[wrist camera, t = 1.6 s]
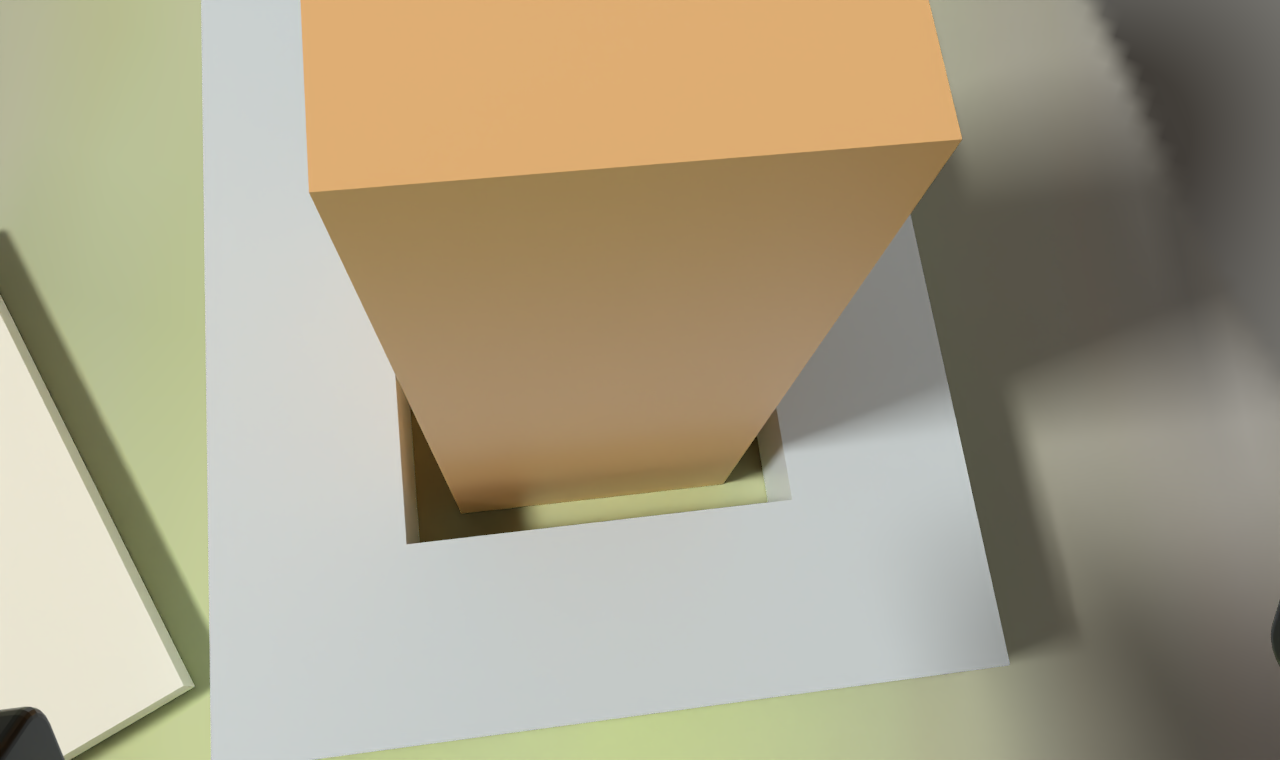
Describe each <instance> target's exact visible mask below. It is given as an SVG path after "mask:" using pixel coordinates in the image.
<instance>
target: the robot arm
mask: <svg viewBox="0 0 1280 760" xmlns="http://www.w3.org/2000/svg"><path fill="white" fill-rule="evenodd" d="M1271 642H1272V648H1273V651H1274V654H1275V657H1276V660H1277V662H1278V664H1279V666H1280V601H1279V604H1278V608H1277V611H1276V614H1275V617H1274V621H1273V624H1272V629H1271ZM0 760H65V759H64V756H63V754H62V752H61V749H60V747H59V744H58V742H57V739H56V737H55V734H54V732H53V729H52V727H51V724H50V722H49V721H48V719H47V717H46V715H45V714H44V713H43V712H42V711H41V710H39V709H37V708H34V707H18V708H10V709H2V710H0Z"/></svg>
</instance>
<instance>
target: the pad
mask: <svg viewBox="0 0 1280 760" xmlns="http://www.w3.org/2000/svg"><path fill="white" fill-rule="evenodd" d="M193 687H195V686H194V684H193V681H192V679H191V677H190V675H189V673H188V671H187V669H186V667H185V665H184V663H183V661H182V659H181V657H180V655H179V653H178V651H177V649H176V647H175V645H174V643H173V641H172V639H171V637H170V635H169V633H168V631H167V629H166V627H165V625H164V623H163V621H162V619H161V617H160V615H159V613H158V611H157V609H156V607H155V605H154V603H153V601H152V599H151V597H150V595H149V593H148V591H147V589H146V587H145V585H144V583H143V581H142V579H141V577H140V575H139V573H138V571H137V569H136V567H135V565H134V563H133V561H132V559H131V557H130V555H129V553H128V551H127V549H126V547H125V545H124V543H123V541H122V539H121V537H120V535H119V533H118V531H117V528H116V526H115V524H114V522H113V520H112V518H111V516H110V514H109V512H108V510H107V508H106V506H105V504H104V502H103V500H102V498H101V496H100V494H99V492H98V490H97V488H96V486H95V484H94V482H93V480H92V478H91V476H90V474H89V472H88V470H87V468H86V466H85V464H84V462H83V460H82V458H81V456H80V454H79V452H78V450H77V448H76V446H75V444H74V442H73V440H72V438H71V436H70V434H69V432H68V430H67V428H66V426H65V424H64V422H63V420H62V418H61V416H60V414H59V412H58V410H57V408H56V406H55V404H54V402H53V400H52V398H51V396H50V394H49V392H48V390H47V388H46V386H45V384H44V382H43V380H42V378H41V375H40V373H39V371H38V369H37V367H36V365H35V363H34V361H33V359H32V357H31V355H30V353H29V351H28V349H27V347H26V345H25V343H24V341H23V339H22V337H21V335H20V333H19V331H18V329H17V327H16V325H15V323H14V321H13V319H12V317H11V315H10V313H9V311H8V309H7V307H6V305H5V303H4V301H3V299H2V297H1V295H0V710H2V709H10V708H18V707H34V708H37V709H39V710H41V711H42V712H43V713H44V714H45V715H46V717H47V719H48V721H49V722H50V724H51V727H52V729H53V732H54V734H55V737H56V739H57V742H58V744H59V747H60V749H61V752H62V754H63V756H64V759H65V760H71V759H72V758H74V757H76V756H78V755H79V754H81V753H83V752H84V751H86V750H88V749H89V748H91V747H93V746H95V745H96V744H98V743H100V742H101V741H103V740H105V739H107V738H108V737H110V736H112V735H113V734H115V733H117V732H118V731H120V730H122V729H124V728H125V727H127V726H129V725H130V724H132V723H134V722H136V721H137V720H139V719H141V718H142V717H144V716H146V715H147V714H149V713H151V712H153V711H154V710H156V709H158V708H159V707H161V706H163V705H164V704H166V703H168V702H170V701H171V700H173V699H175V698H176V697H178V696H180V695H182V694H183V693H185V692H187V691H188V690H190V689H192V688H193Z"/></svg>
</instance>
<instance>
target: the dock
mask: <svg viewBox="0 0 1280 760" xmlns="http://www.w3.org/2000/svg"><path fill="white" fill-rule="evenodd" d="M201 19H202V96H203V173H204V250H205V326H206V403H207V480H208V557H209V634H210V710H211V760H314V759H321V758H328V757H336V756H343V755H350V754H358V753H365V752H373V751H380V750H387V749H395V748H402V747H410V746H417V745H424V744H432V743H439V742H446V741H454V740H461V739H469V738H476V737H483V736H491V735H498V734H506V733H513V732H520V731H528V730H535V729H542V728H550V727H557V726H565V725H572V724H579V723H587V722H594V721H602V720H609V719H616V718H624V717H631V716H638V715H646V714H653V713H661V712H668V711H675V710H683V709H690V708H698V707H705V706H712V705H720V704H727V703H734V702H742V701H749V700H757V699H764V698H771V697H779V696H786V695H794V694H801V693H808V692H816V691H823V690H830V689H838V688H845V687H853V686H860V685H867V684H875V683H882V682H890V681H897V680H904V679H912V678H919V677H926V676H934V675H941V674H949V673H956V672H963V671H971V670H978V669H986V668H993V667H1000V666H1008V665H1010V662H1009V657H1008V653H1007V648H1006V644H1005V639H1004V635H1003V630H1002V626H1001V621H1000V617H999V612H998V608H997V603H996V599H995V594H994V589H993V585H992V580H991V576H990V571H989V567H988V562H987V558H986V553H985V549H984V544H983V540H982V535H981V531H980V526H979V522H978V517H977V513H976V508H975V504H974V499H973V495H972V490H971V485H970V481H969V476H968V472H967V467H966V463H965V458H964V454H963V449H962V445H961V440H960V436H959V431H958V427H957V422H956V418H955V413H954V409H953V404H952V400H951V395H950V391H949V386H948V381H947V377H946V372H945V368H944V363H943V359H942V354H941V350H940V345H939V341H938V336H937V332H936V327H935V323H934V318H933V314H932V309H931V305H930V300H929V296H928V291H927V287H926V282H925V277H924V273H923V268H922V264H921V259H920V255H919V250H918V246H917V241H916V237H915V232H914V228H913V223H912V219H911V214H910V215H909V217H908V218H907V220H906V221H905V222H904V224H903V225H902V227H901V228H900V230H899V231H898V233H897V234H896V235H895V237H894V238H893V240H892V241H891V243H890V244H889V246H888V247H887V248H886V250H885V251H884V253H883V254H882V256H881V257H880V259H879V260H878V261H877V263H876V264H875V266H874V267H873V269H872V270H871V272H870V273H869V274H868V276H867V277H866V279H865V280H864V282H863V283H862V284H861V286H860V287H859V289H858V290H857V292H856V293H855V295H854V296H853V297H852V299H851V300H850V302H849V303H848V305H847V306H846V308H845V309H844V310H843V312H842V313H841V315H840V316H839V318H838V319H837V321H836V322H835V323H834V325H833V326H832V328H831V329H830V331H829V332H828V333H827V335H826V336H825V338H824V339H823V341H822V342H821V344H820V345H819V346H818V348H817V349H816V351H815V352H814V354H813V355H812V357H811V358H810V359H809V361H808V362H807V364H806V365H805V367H804V368H803V370H802V371H801V372H800V374H799V375H798V377H797V378H796V380H795V381H794V383H793V384H792V385H791V387H790V388H789V390H788V391H787V393H786V394H785V395H784V397H783V398H782V400H781V401H780V403H779V404H778V406H777V407H776V408H775V410H774V411H773V413H772V414H771V416H770V417H769V419H768V420H767V421H766V423H765V424H764V426H763V427H762V429H761V430H760V432H759V433H758V434H757V440H758V446H759V452H760V458H761V464H762V470H763V476H764V482H765V488H766V494H767V500H768V502H767V503H759V504H750V505H742V506H733V507H724V508H716V509H707V510H698V511H690V512H681V513H673V514H664V515H655V516H647V517H638V518H630V519H621V520H612V521H604V522H595V523H586V524H578V525H569V526H561V527H552V528H543V529H535V530H526V531H517V532H509V533H500V534H492V535H483V536H474V537H466V538H457V539H448V540H440V541H431V542H423V543H420V538H419V524H418V509H417V495H416V481H415V466H414V452H413V438H412V424H411V409H410V404H409V402H408V400H407V398H406V396H405V394H404V392H403V390H402V387H401V385H400V383H399V381H398V379H397V377H396V375H395V373H394V371H393V369H392V366H391V364H390V362H389V360H388V358H387V356H386V354H385V352H384V350H383V347H382V345H381V343H380V341H379V339H378V337H377V335H376V333H375V331H374V328H373V326H372V324H371V322H370V320H369V318H368V316H367V314H366V312H365V310H364V307H363V305H362V303H361V301H360V299H359V297H358V295H357V293H356V291H355V288H354V286H353V284H352V282H351V280H350V278H349V276H348V274H347V272H346V270H345V267H344V265H343V263H342V261H341V259H340V257H339V255H338V253H337V251H336V248H335V246H334V244H333V242H332V240H331V238H330V236H329V234H328V232H327V229H326V227H325V225H324V223H323V221H322V219H321V217H320V215H319V213H318V211H317V208H316V206H315V204H314V202H313V200H312V198H311V196H310V194H309V183H308V161H307V138H306V116H305V93H304V70H303V48H302V25H301V3H300V0H201Z"/></svg>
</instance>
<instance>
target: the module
mask: <svg viewBox="0 0 1280 760" xmlns="http://www.w3.org/2000/svg"><path fill="white" fill-rule="evenodd" d="M300 3H301V25H302V48H303V70H304V93H305V116H306V138H307V161H308V183H309V194H310V196H311V198H312V200H313V202H314V204H315V206H316V208H317V211H318V213H319V215H320V217H321V219H322V221H323V223H324V225H325V227H326V229H327V232H328V234H329V236H330V238H331V240H332V242H333V244H334V246H335V248H336V251H337V253H338V255H339V257H340V259H341V261H342V263H343V265H344V267H345V270H346V272H347V274H348V276H349V278H350V280H351V282H352V284H353V286H354V288H355V291H356V293H357V295H358V297H359V299H360V301H361V303H362V305H363V307H364V310H365V312H366V314H367V316H368V318H369V320H370V322H371V324H372V326H373V328H374V331H375V333H376V335H377V337H378V339H379V341H380V343H381V345H382V347H383V350H384V352H385V354H386V356H387V358H388V360H389V362H390V364H391V366H392V369H393V371H394V373H395V375H396V377H397V379H398V381H399V383H400V385H401V387H402V390H403V392H404V394H405V396H406V398H407V400H408V402H409V404H410V406H411V409H412V411H413V413H414V415H415V417H416V419H417V421H418V423H419V425H420V427H421V430H422V432H423V434H424V436H425V438H426V440H427V442H428V444H429V446H430V449H431V451H432V453H433V455H434V457H435V459H436V461H437V463H438V465H439V468H440V470H441V472H442V474H443V476H444V478H445V480H446V482H447V484H448V486H449V489H450V491H451V493H452V495H453V497H454V499H455V501H456V503H457V505H458V508H459V510H460V512H461V514H464V513H473V512H481V511H490V510H499V509H508V508H517V507H525V506H534V505H543V504H552V503H561V502H569V501H578V500H587V499H596V498H605V497H613V496H622V495H631V494H640V493H649V492H658V491H666V490H675V489H684V488H693V487H702V486H710V485H719V484H723V483H724V482H725V481H726V479H727V478H728V476H729V475H730V473H731V472H732V470H733V469H734V468H735V466H736V465H737V463H738V462H739V460H740V459H741V457H742V456H743V455H744V453H745V452H746V450H747V449H748V447H749V446H750V445H751V443H752V442H753V440H754V439H755V437H756V436H757V434H758V433H759V432H760V430H761V429H762V427H763V426H764V424H765V423H766V421H767V420H768V419H769V417H770V416H771V414H772V413H773V411H774V410H775V408H776V407H777V406H778V404H779V403H780V401H781V400H782V398H783V397H784V395H785V394H786V393H787V391H788V390H789V388H790V387H791V385H792V384H793V383H794V381H795V380H796V378H797V377H798V375H799V374H800V372H801V371H802V370H803V368H804V367H805V365H806V364H807V362H808V361H809V359H810V358H811V357H812V355H813V354H814V352H815V351H816V349H817V348H818V346H819V345H820V344H821V342H822V341H823V339H824V338H825V336H826V335H827V333H828V332H829V331H830V329H831V328H832V326H833V325H834V323H835V322H836V321H837V319H838V318H839V316H840V315H841V313H842V312H843V310H844V309H845V308H846V306H847V305H848V303H849V302H850V300H851V299H852V297H853V296H854V295H855V293H856V292H857V290H858V289H859V287H860V286H861V284H862V283H863V282H864V280H865V279H866V277H867V276H868V274H869V273H870V272H871V270H872V269H873V267H874V266H875V264H876V263H877V261H878V260H879V259H880V257H881V256H882V254H883V253H884V251H885V250H886V248H887V247H888V246H889V244H890V243H891V241H892V240H893V238H894V237H895V235H896V234H897V233H898V231H899V230H900V228H901V227H902V225H903V224H904V222H905V221H906V220H907V218H908V217H909V215H910V214H911V212H912V211H913V210H914V208H915V207H916V205H917V204H918V202H919V201H920V199H921V198H922V197H923V195H924V194H925V192H926V191H927V189H928V188H929V186H930V185H931V184H932V182H933V181H934V179H935V178H936V176H937V175H938V173H939V172H940V171H941V169H942V168H943V166H944V165H945V163H946V162H947V160H948V159H949V158H950V156H951V155H952V153H953V152H954V150H955V149H956V148H957V146H958V145H959V143H960V142H961V140H962V136H961V132H960V128H959V124H958V120H957V116H956V111H955V107H954V103H953V99H952V95H951V91H950V87H949V82H948V78H947V74H946V70H945V66H944V62H943V58H942V54H941V49H940V45H939V41H938V37H937V33H936V29H935V25H934V20H933V16H932V12H931V8H930V4H929V0H300Z"/></svg>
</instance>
